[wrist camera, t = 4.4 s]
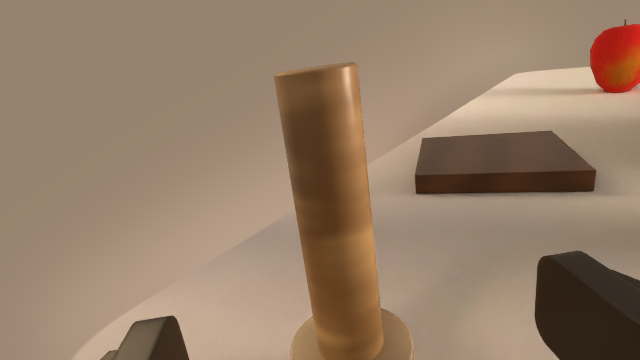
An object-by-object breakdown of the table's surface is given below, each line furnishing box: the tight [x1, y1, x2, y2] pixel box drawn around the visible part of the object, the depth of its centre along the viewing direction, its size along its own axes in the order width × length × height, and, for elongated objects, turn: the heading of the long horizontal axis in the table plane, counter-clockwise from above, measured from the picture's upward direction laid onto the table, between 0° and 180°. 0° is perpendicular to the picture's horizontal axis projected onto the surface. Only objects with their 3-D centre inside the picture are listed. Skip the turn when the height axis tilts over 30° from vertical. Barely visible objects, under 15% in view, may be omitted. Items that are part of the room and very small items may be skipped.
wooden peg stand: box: [274, 62, 414, 360], centre depth 14 cm, size 5×5×13 cm
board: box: [415, 131, 596, 193], centre depth 39 cm, size 14×14×2 cm
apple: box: [590, 20, 640, 93], centre depth 66 cm, size 9×9×12 cm
